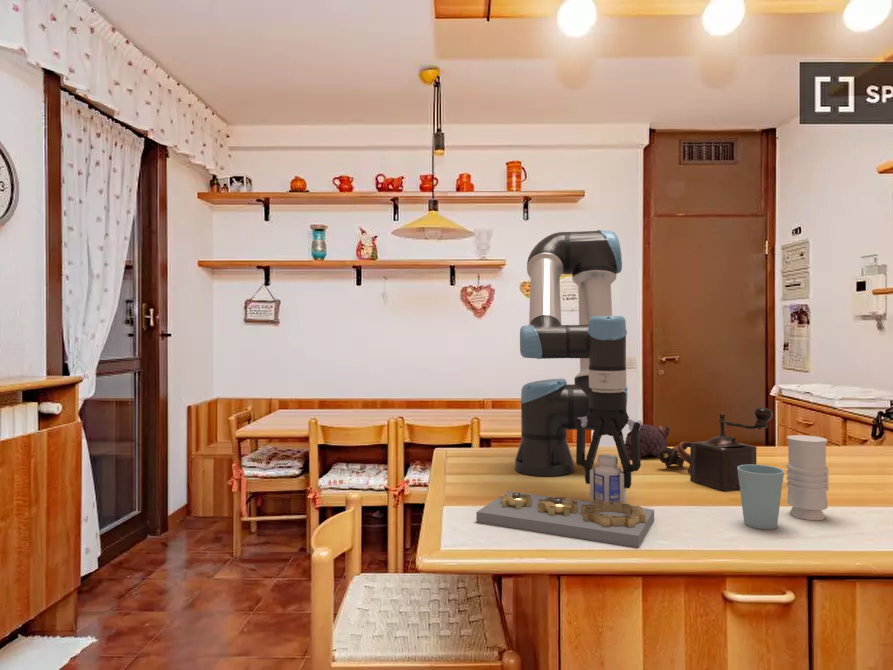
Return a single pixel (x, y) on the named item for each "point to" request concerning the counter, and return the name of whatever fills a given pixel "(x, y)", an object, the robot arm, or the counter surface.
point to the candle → (807, 476)
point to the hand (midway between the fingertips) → (608, 501)
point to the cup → (760, 494)
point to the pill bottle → (607, 479)
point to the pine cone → (649, 440)
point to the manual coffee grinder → (724, 455)
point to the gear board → (563, 522)
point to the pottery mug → (675, 455)
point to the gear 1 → (557, 506)
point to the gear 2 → (629, 520)
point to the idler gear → (516, 500)
